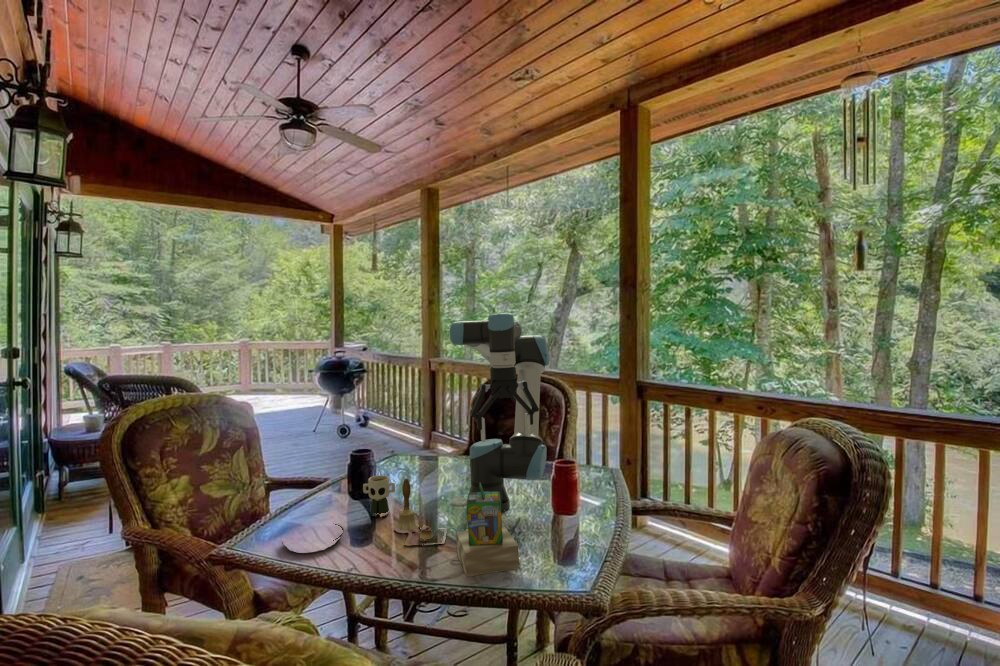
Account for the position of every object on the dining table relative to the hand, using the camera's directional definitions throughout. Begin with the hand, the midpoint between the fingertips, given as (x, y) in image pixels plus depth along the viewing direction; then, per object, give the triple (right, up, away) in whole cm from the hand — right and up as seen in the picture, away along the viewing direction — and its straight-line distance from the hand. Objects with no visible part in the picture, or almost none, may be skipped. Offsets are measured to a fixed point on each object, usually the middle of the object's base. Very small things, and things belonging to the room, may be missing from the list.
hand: (505, 438), depth 149 cm
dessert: (-24, -32, +5) cm, 41 cm away
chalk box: (-6, -25, -11) cm, 28 cm away
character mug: (-43, -32, +25) cm, 59 cm away
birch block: (-5, -31, -11) cm, 33 cm away
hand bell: (-31, -32, +13) cm, 47 cm away
